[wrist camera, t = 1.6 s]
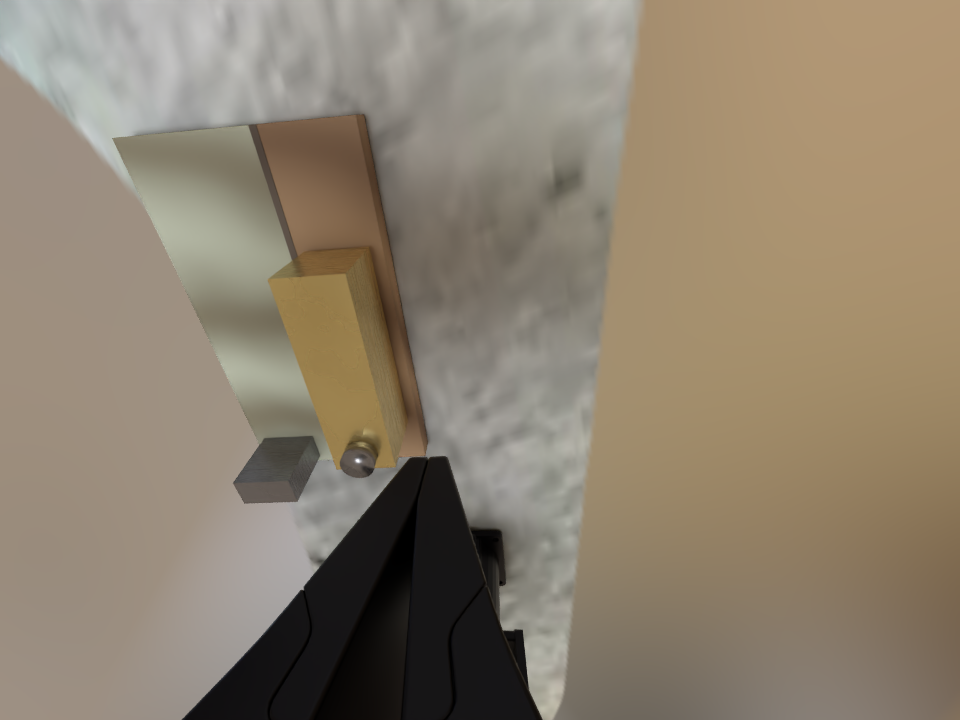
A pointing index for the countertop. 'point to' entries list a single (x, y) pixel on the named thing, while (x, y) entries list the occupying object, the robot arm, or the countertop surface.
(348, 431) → the latch bar
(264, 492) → the stop block
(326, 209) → the door board
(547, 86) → the countertop surface
